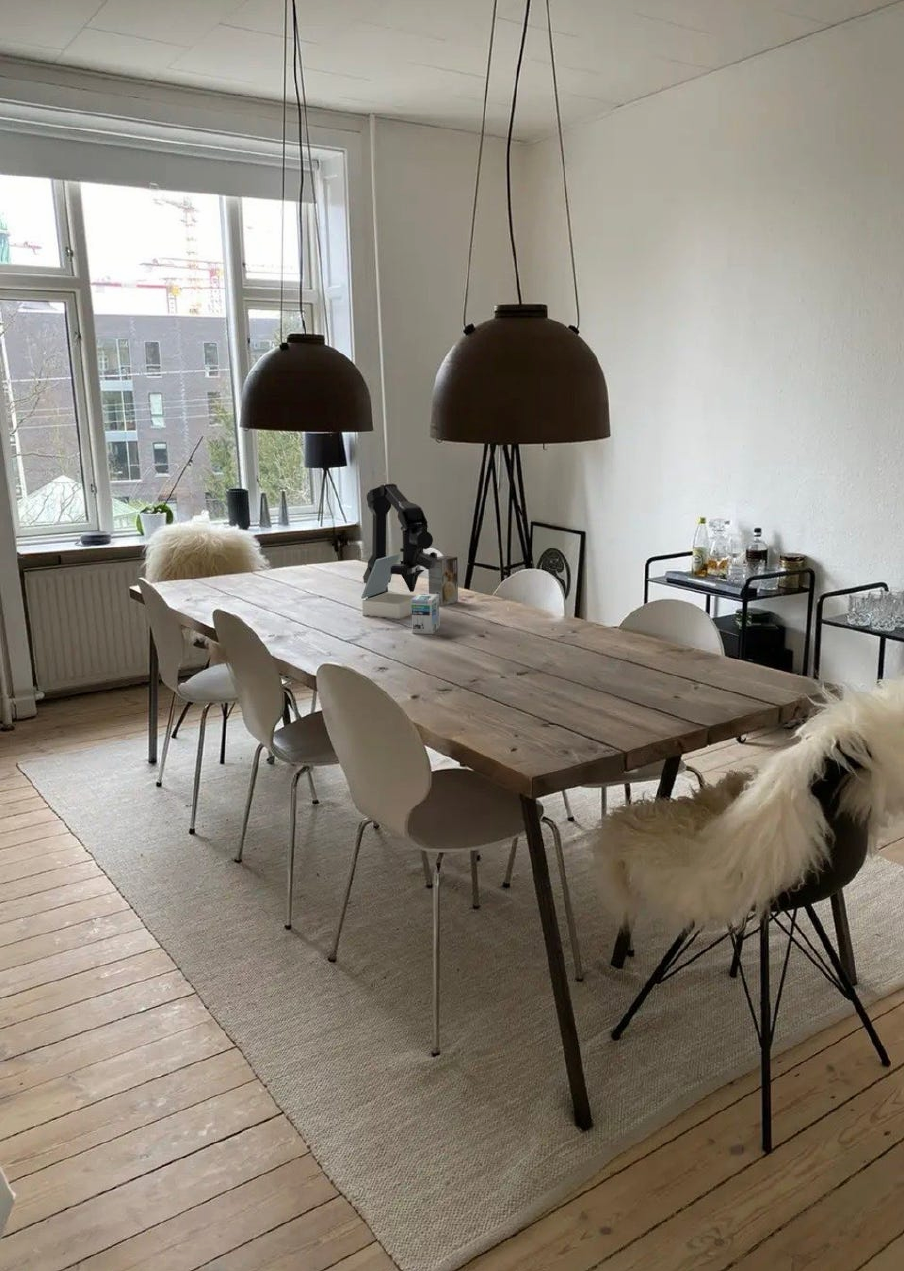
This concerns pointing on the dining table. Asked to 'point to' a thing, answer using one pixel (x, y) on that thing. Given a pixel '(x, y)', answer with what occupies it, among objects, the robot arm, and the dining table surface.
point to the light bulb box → (425, 613)
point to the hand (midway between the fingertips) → (411, 591)
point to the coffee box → (444, 580)
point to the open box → (388, 605)
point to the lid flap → (380, 575)
